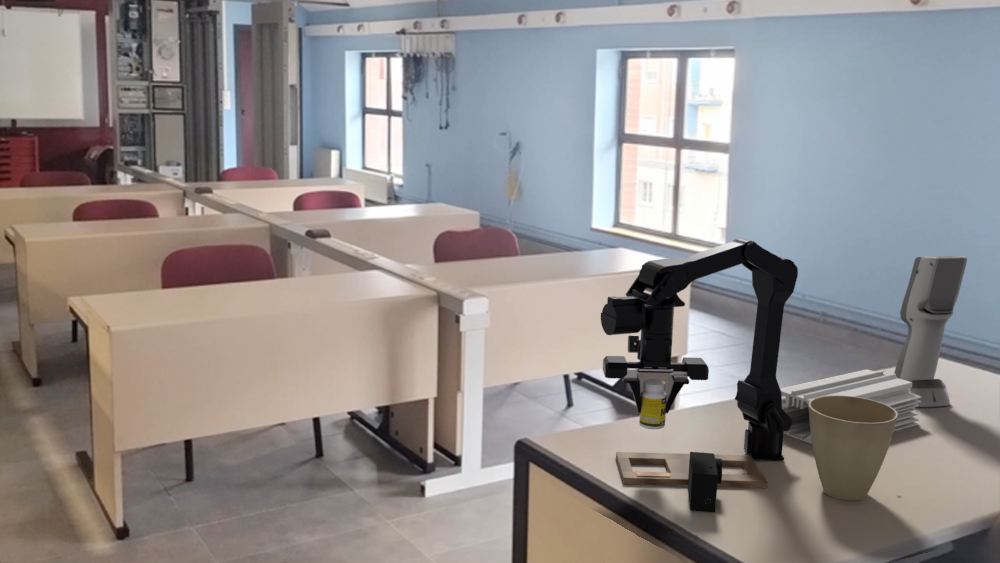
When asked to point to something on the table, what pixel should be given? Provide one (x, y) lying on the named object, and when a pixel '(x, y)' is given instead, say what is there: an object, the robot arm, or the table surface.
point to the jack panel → (686, 469)
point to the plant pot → (849, 442)
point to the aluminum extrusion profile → (850, 384)
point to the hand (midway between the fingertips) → (652, 412)
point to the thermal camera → (928, 324)
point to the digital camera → (703, 481)
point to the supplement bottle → (653, 404)
